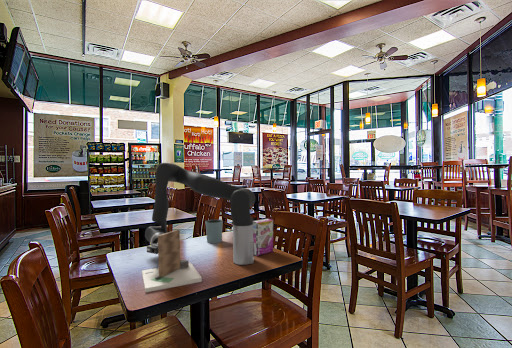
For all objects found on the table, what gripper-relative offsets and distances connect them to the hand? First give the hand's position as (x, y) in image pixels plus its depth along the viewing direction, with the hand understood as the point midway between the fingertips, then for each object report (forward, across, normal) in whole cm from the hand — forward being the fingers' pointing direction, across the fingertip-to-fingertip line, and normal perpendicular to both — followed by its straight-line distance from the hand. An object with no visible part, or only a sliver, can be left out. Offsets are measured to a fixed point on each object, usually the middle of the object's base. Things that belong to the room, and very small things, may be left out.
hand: (165, 253), depth 110 cm
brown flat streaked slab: (-1, +3, +8) cm, 9 cm away
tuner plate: (+1, +2, +10) cm, 10 cm away
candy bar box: (-11, +48, +10) cm, 50 cm away
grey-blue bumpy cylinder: (-42, +33, +10) cm, 54 cm away
